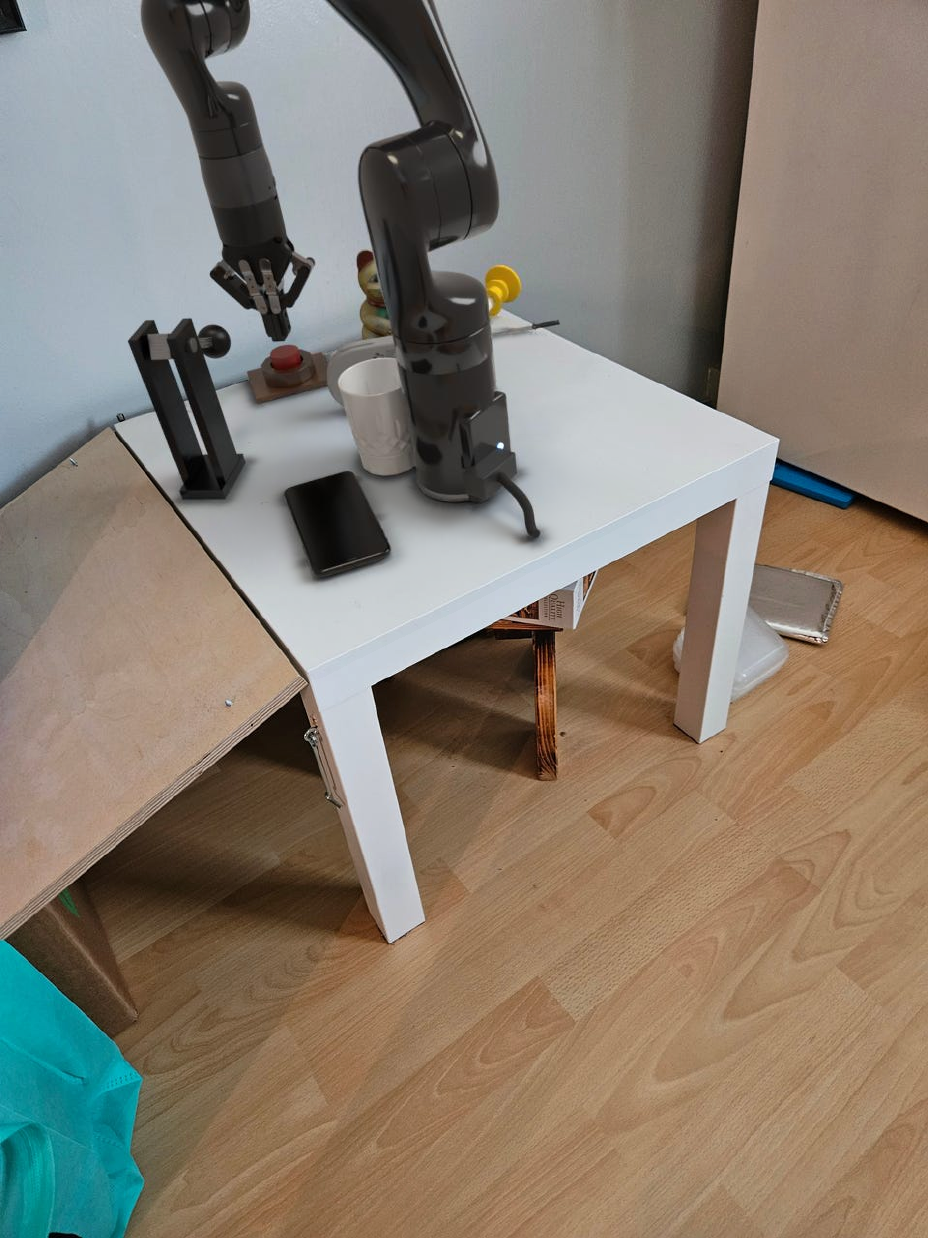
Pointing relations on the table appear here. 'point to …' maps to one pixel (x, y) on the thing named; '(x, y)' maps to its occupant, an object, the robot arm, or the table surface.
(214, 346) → the tap lever
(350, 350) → the white rounded panel
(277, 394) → the button block
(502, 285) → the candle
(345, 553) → the smartphone
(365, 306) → the decorative figurine
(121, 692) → the table surface
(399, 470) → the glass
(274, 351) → the button
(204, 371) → the bracket
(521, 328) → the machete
